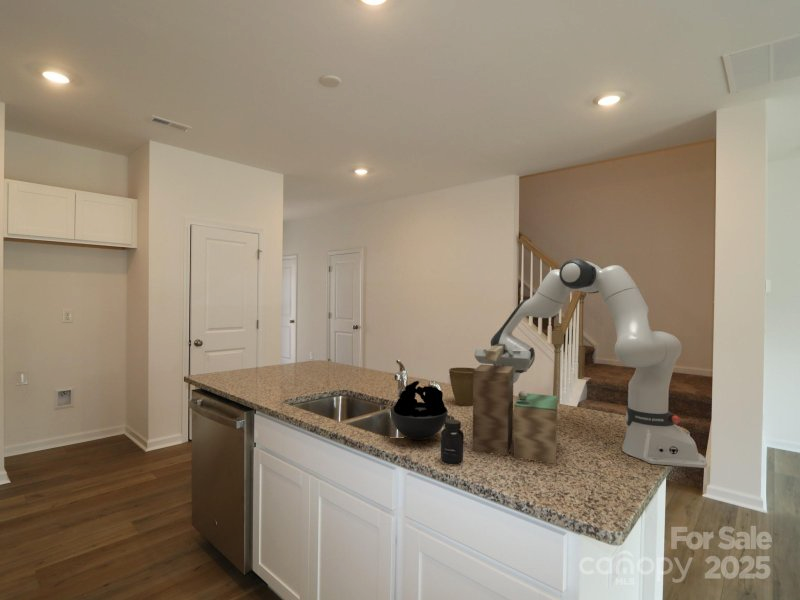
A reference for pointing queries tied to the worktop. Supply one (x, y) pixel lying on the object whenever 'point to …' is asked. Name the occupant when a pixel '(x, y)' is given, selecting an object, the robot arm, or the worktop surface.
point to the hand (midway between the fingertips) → (499, 348)
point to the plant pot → (462, 385)
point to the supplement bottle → (452, 442)
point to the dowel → (495, 352)
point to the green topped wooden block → (535, 427)
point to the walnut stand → (493, 409)
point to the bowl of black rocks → (419, 412)
